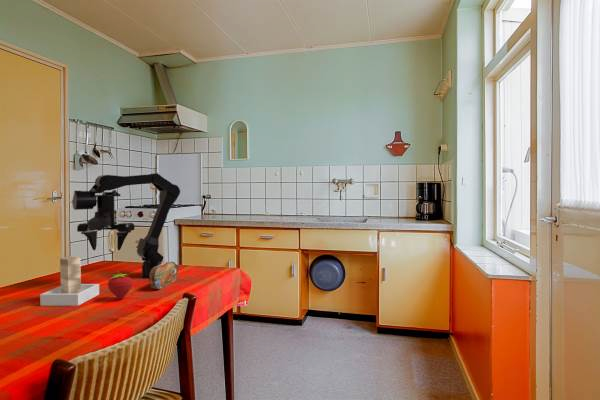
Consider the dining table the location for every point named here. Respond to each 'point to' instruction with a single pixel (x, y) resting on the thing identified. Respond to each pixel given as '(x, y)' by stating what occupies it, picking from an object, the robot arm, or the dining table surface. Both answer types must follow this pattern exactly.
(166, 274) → the tin
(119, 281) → the strawberry
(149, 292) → the dining table surface
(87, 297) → the box
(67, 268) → the birch block
